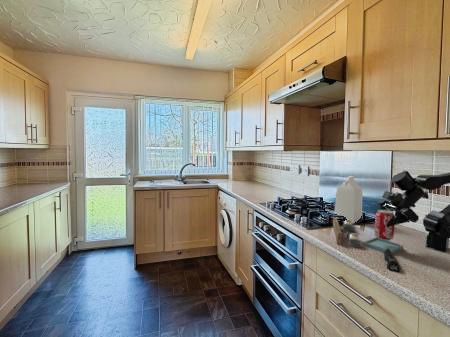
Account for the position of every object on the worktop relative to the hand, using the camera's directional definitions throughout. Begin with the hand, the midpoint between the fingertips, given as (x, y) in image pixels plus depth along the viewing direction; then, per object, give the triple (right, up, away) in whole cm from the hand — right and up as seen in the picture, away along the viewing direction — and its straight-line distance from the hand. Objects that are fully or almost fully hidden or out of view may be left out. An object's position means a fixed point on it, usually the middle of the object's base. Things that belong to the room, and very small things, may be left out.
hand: (381, 223), depth 106 cm
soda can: (+1, -7, +1) cm, 7 cm away
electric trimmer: (-6, -12, -14) cm, 19 cm away
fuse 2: (-10, -10, +4) cm, 15 cm away
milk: (+7, -7, +43) cm, 44 cm away
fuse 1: (-2, -8, +25) cm, 27 cm away
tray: (+1, -10, +1) cm, 11 cm away
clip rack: (-8, -9, +15) cm, 19 cm away
